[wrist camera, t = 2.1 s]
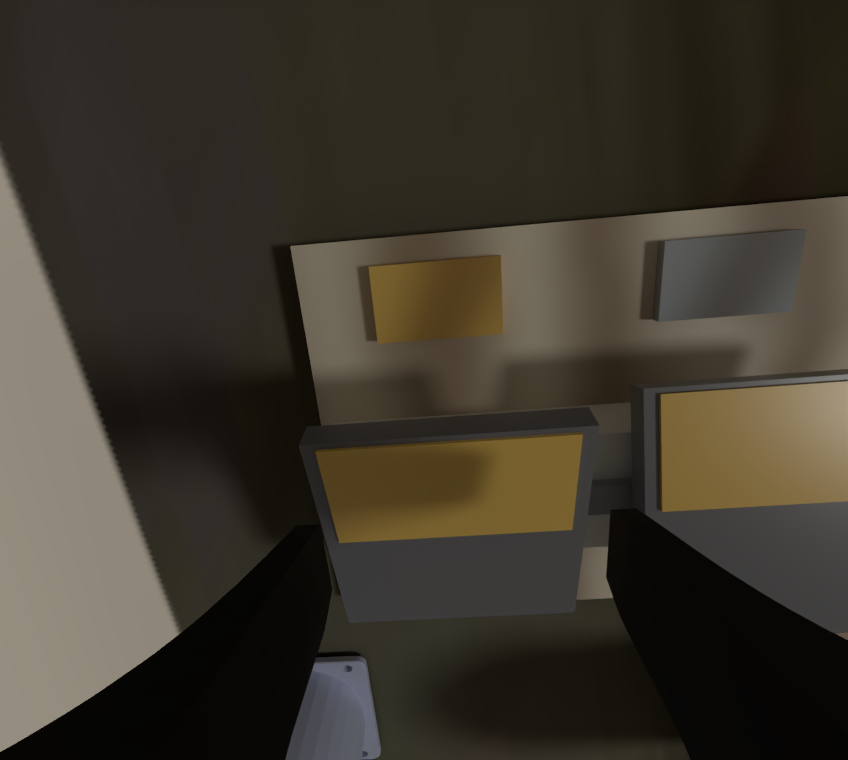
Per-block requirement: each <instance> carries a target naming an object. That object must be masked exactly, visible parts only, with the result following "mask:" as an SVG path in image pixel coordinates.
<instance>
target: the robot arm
mask: <svg viewBox="0 0 848 760" xmlns="http://www.w3.org/2000/svg"><path fill="white" fill-rule="evenodd" d="M606 579H607V581H608V584H609V587H610V590H611V593H612V595H613V598H614V601H615V603H616V606H617V609H618V611H619V614H620V617H621V619H622V621H623V623H624V625H625V627H626V629H627V631H628V633H629V635H630V637H631V639H632V641H633V643H634V645H635V647H636V649H637V651H638V653H639V655H640V657H641V659H642V661H643V663H644V665H645V667H646V669H647V671H648V672H649V674H650V676H651V678H652V680H653V682H654V684H655V686H656V688H657V690H658V692H659V694H660V696H661V698H662V700H663V702H664V704H665V706H666V708H667V710H668V711H669V713H670V715H671V717H672V719H673V721H674V723H675V726H676V728H677V730H678V732H679V734H680V736H681V738H682V740H683V743H684V745H685V747H686V749H687V752H688V754H689V757H690V759H691V760H848V640H846V639H844V638H842V637H840V636H838V635H836V634H834V633H832V632H830V631H829V630H827V629H825V628H823V627H821V626H819V625H818V624H816V623H814V622H812V621H810V620H808V619H807V618H805V617H803V616H801V615H799V614H797V613H796V612H794V611H792V610H790V609H788V608H787V607H785V606H783V605H781V604H780V603H778V602H776V601H775V600H773V599H771V598H770V597H768V596H766V595H765V594H763V593H761V592H760V591H758V590H757V589H755V588H753V587H752V586H750V585H749V584H747V583H745V582H744V581H742V580H740V579H739V578H737V577H736V576H734V575H733V574H731V573H730V572H728V571H726V570H725V569H723V568H722V567H720V566H719V565H717V564H716V563H714V562H713V561H711V560H710V559H708V558H707V557H706V556H704V555H703V554H701V553H700V552H698V551H697V550H695V549H694V548H692V547H691V546H690V545H688V544H687V543H685V542H684V541H682V540H681V539H680V538H678V537H677V536H675V535H674V534H673V533H671V532H670V531H668V530H667V529H665V528H664V527H663V526H661V525H660V524H658V523H657V522H656V521H654V520H653V519H651V518H650V517H648V516H647V515H645V514H644V513H643V512H641V511H639V510H638V509H636V508H633V509H614V510H610V525H609V540H608V555H607V570H606ZM331 592H332V586H331V581H330V575H329V570H328V564H327V559H326V554H325V548H324V543H323V537H322V532H321V526H320V525H303V526H296V527H295V528H294V529H293V530H292V531H291V532H290V533H289V534H288V535H286V536H285V537H284V538H283V539H282V540H281V542H280V543H279V544H278V545H277V546H276V547H275V548H274V549H273V550H272V551H271V552H270V553H269V554H268V555H267V556H266V557H265V558H264V559H263V560H262V561H261V562H260V563H258V564H257V565H256V566H255V567H254V568H253V569H252V570H251V571H250V572H249V573H248V574H247V575H246V576H245V577H244V578H243V579H242V580H241V581H240V582H239V583H238V584H237V585H236V586H235V587H233V588H232V589H231V590H230V591H229V592H228V593H227V594H226V595H225V596H223V597H222V598H221V599H220V600H219V601H218V602H217V603H216V604H215V605H213V606H212V607H211V608H210V609H209V610H208V611H207V612H206V613H204V614H203V615H202V616H201V617H200V618H199V619H198V620H196V621H195V622H194V623H193V624H192V625H190V626H189V627H188V628H187V629H185V630H184V631H183V632H182V633H180V634H179V635H178V636H177V637H175V638H174V639H173V640H171V642H169V643H168V644H166V645H165V646H164V647H162V648H161V649H160V650H159V651H157V652H156V653H155V654H153V655H152V656H151V657H149V658H148V659H146V660H145V661H144V662H142V663H141V664H139V665H138V666H136V667H135V668H133V669H132V670H131V671H129V672H128V673H126V674H125V675H123V676H122V677H121V678H119V679H118V680H116V681H115V682H113V683H112V684H110V685H109V686H107V687H106V688H105V689H103V690H102V691H100V692H99V693H97V694H96V695H94V696H93V697H91V698H90V699H88V700H87V701H85V702H83V703H82V704H80V705H79V706H77V707H75V708H74V709H72V710H71V711H69V712H68V713H66V714H65V715H63V716H61V717H59V718H58V719H56V720H54V721H53V722H51V723H49V724H48V725H46V726H44V727H43V728H41V729H39V730H38V731H36V732H34V733H33V734H31V735H30V736H28V737H26V738H24V739H23V740H21V741H19V742H17V743H16V744H14V745H12V746H11V747H9V748H7V749H5V750H3V751H1V752H0V760H361V759H375V758H377V757H379V755H380V750H381V745H380V739H379V734H378V728H377V722H376V716H375V710H374V704H373V698H372V692H371V686H370V680H369V674H368V668H367V663H366V660H365V659H364V658H363V657H361V656H339V657H316V656H317V653H318V650H319V647H320V643H321V640H322V637H323V633H324V630H325V625H326V620H327V615H328V609H329V604H330V598H331Z"/></svg>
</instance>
